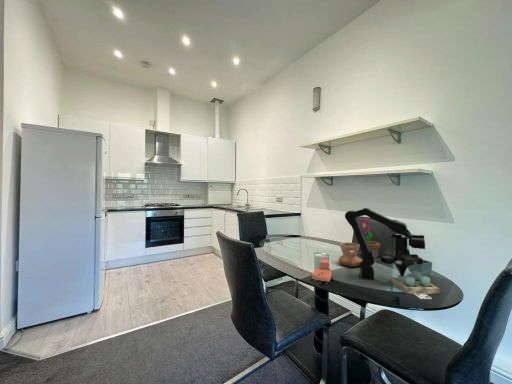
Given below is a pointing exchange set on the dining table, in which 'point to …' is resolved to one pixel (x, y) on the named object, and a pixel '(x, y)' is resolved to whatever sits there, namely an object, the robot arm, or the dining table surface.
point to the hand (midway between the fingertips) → (401, 276)
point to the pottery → (323, 271)
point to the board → (417, 288)
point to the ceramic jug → (349, 254)
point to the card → (422, 296)
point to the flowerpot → (371, 244)
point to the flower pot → (422, 268)
